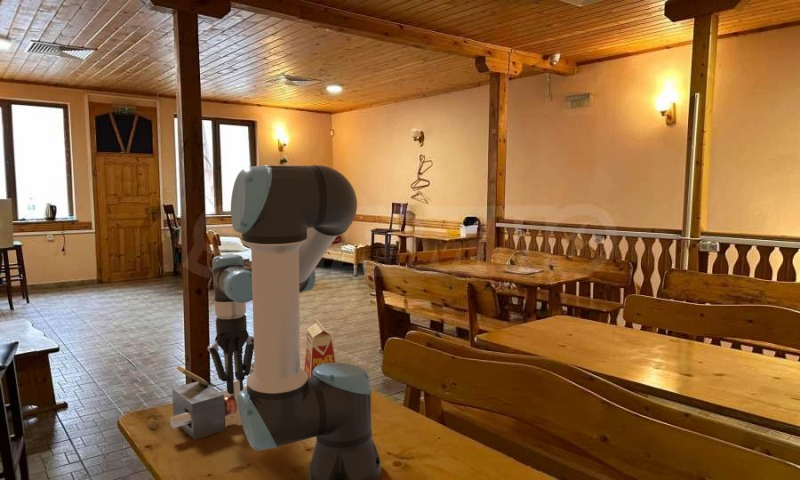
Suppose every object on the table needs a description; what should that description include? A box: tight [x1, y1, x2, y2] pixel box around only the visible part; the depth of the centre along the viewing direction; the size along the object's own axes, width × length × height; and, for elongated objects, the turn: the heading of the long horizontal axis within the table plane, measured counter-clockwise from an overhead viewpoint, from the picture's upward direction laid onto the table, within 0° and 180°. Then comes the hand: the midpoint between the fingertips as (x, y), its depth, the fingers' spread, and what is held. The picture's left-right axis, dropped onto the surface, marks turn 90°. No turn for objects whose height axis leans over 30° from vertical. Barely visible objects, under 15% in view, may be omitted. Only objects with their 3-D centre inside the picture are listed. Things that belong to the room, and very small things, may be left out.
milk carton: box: [303, 318, 337, 377], centre depth 166 cm, size 9×9×20 cm
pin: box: [169, 395, 238, 429], centre depth 137 cm, size 5×16×5 cm, turn 131°
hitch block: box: [171, 381, 227, 441], centre depth 140 cm, size 14×8×9 cm, turn 41°
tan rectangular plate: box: [176, 365, 210, 386], centre depth 143 cm, size 5×8×1 cm
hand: (235, 404), depth 143 cm, fingers closed
